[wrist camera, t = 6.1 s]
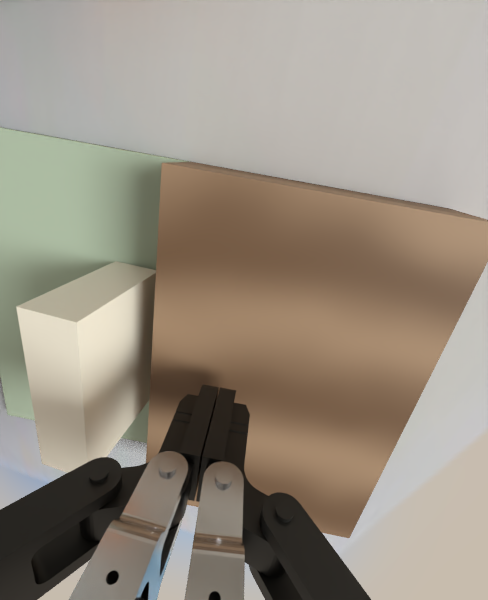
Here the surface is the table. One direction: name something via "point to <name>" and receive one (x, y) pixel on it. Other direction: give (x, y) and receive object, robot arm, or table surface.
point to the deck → (305, 322)
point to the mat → (67, 232)
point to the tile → (89, 361)
